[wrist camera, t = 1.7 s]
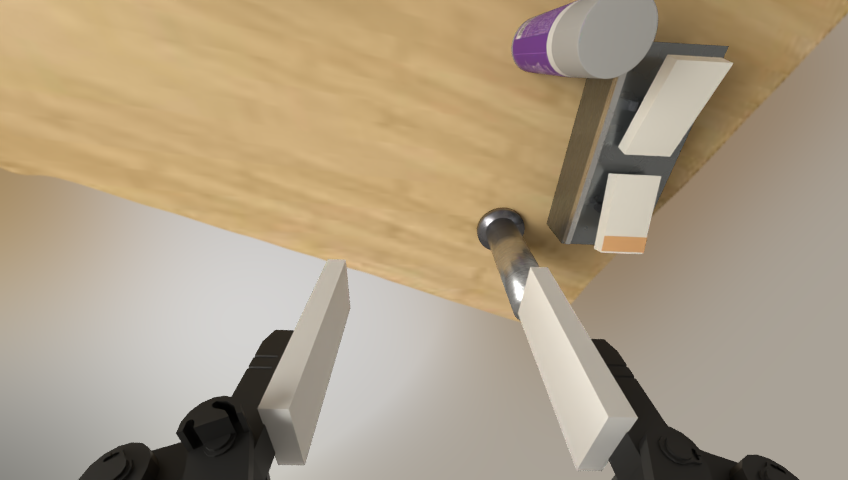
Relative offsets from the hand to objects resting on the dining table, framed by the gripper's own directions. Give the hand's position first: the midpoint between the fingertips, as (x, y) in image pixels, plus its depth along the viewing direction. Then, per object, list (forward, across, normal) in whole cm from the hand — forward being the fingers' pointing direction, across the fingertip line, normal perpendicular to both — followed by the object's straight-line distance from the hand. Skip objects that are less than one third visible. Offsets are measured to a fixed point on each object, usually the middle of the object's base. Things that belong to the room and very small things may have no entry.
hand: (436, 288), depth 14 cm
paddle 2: (+18, +20, +6) cm, 28 cm away
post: (+25, +10, -10) cm, 29 cm away
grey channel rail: (+25, +20, +1) cm, 33 cm away
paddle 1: (+18, +20, -4) cm, 28 cm away
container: (+25, +10, +10) cm, 29 cm away
